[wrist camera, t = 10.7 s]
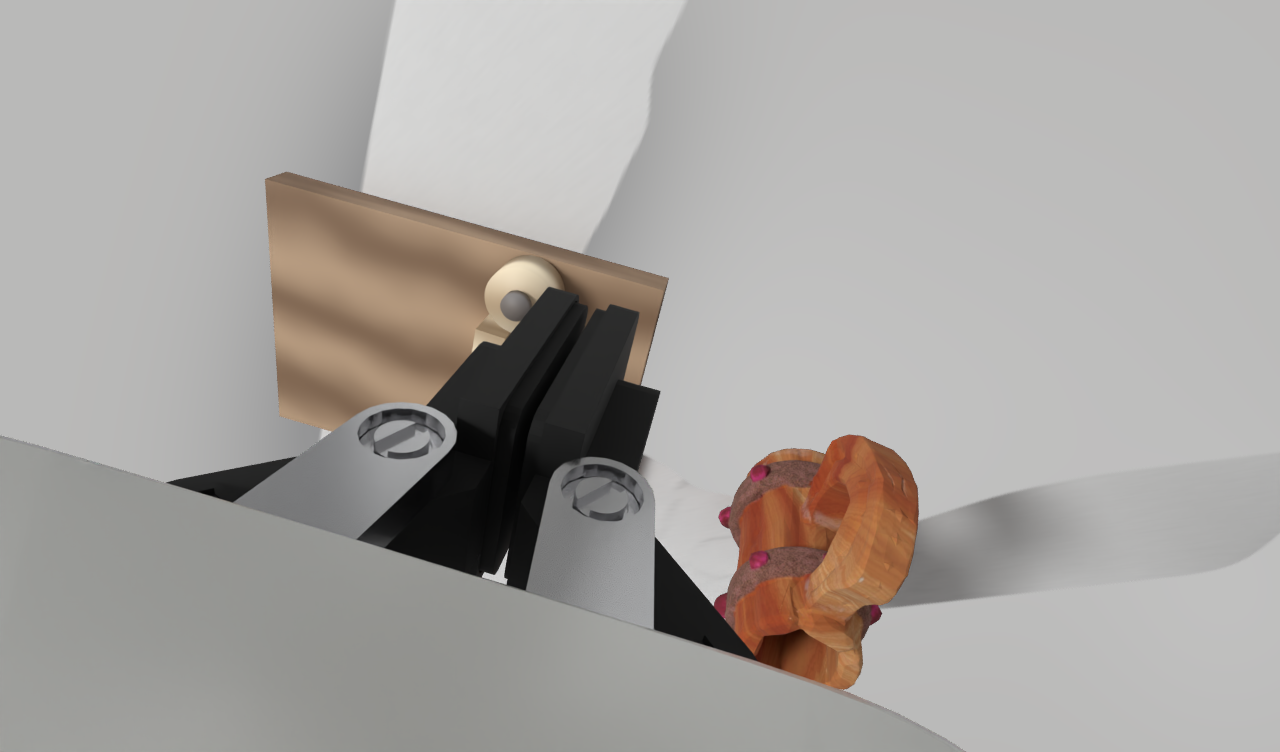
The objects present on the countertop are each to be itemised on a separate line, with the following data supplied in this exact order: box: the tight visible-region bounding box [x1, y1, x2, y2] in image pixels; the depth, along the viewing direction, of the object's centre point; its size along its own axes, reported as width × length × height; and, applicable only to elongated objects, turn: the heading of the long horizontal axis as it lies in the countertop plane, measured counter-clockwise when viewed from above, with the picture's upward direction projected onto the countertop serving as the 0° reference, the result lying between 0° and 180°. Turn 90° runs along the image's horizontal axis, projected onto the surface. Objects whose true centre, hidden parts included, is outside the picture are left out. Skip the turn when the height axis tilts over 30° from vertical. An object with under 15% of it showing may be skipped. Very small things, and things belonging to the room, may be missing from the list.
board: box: [265, 172, 669, 432], centre depth 44 cm, size 17×24×2 cm
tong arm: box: [472, 255, 565, 352], centre depth 42 cm, size 17×4×2 cm, turn 165°
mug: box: [714, 435, 919, 690], centre depth 38 cm, size 15×8×15 cm, turn 157°
